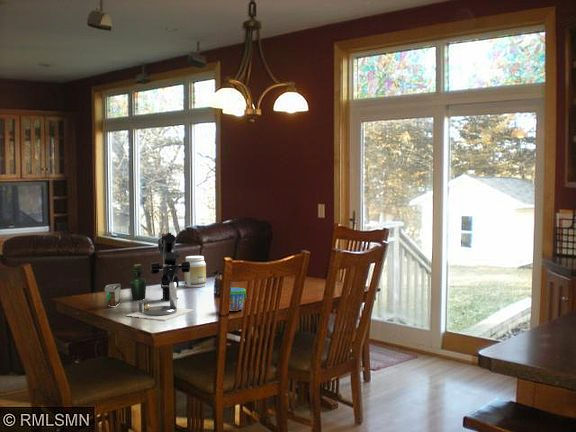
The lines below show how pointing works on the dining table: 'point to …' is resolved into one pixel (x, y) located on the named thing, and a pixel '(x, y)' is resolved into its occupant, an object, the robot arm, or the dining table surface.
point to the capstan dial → (164, 309)
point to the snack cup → (237, 298)
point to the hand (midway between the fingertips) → (171, 281)
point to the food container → (113, 294)
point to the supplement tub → (196, 272)
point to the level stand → (158, 317)
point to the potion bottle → (138, 284)
